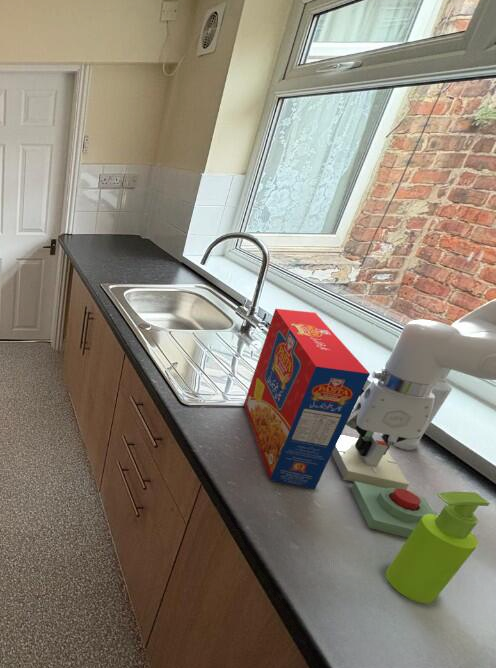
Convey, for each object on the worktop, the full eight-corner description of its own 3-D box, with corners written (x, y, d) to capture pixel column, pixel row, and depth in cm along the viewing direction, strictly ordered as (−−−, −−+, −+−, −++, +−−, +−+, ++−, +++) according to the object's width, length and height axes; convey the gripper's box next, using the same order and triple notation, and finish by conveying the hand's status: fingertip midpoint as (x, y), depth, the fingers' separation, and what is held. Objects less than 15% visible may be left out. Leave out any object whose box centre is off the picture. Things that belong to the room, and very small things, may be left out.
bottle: (419, 445, 96) (475, 350, 85) (412, 454, 94) (469, 358, 82) (390, 433, 100) (440, 341, 89) (383, 441, 97) (434, 348, 86)
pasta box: (243, 404, 111) (275, 308, 98) (278, 410, 108) (315, 312, 96) (269, 479, 87) (315, 366, 75) (314, 489, 85) (370, 373, 72)
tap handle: (356, 446, 92) (366, 426, 90) (366, 448, 92) (376, 428, 89) (366, 464, 88) (377, 443, 85) (376, 466, 87) (388, 445, 84)
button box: (419, 505, 81) (429, 490, 79) (446, 548, 73) (458, 532, 71) (350, 488, 85) (358, 474, 83) (368, 527, 77) (377, 512, 75)
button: (411, 498, 78) (415, 491, 77) (420, 513, 75) (424, 506, 74) (387, 492, 79) (391, 486, 79) (395, 507, 76) (399, 500, 76)
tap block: (324, 440, 98) (328, 431, 97) (378, 451, 94) (383, 442, 93) (342, 479, 87) (347, 470, 86) (404, 493, 84) (410, 484, 82)
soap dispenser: (369, 567, 70) (425, 480, 61) (411, 568, 70) (473, 481, 61) (399, 603, 65) (465, 513, 56) (445, 604, 64) (518, 514, 55)
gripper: (362, 383, 81) (328, 455, 89) (470, 401, 75) (423, 476, 83) (349, 365, 87) (318, 434, 95) (448, 380, 81) (406, 451, 90)
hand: (367, 453), depth 89 cm, fingers closed on tap handle, 2 cm apart
